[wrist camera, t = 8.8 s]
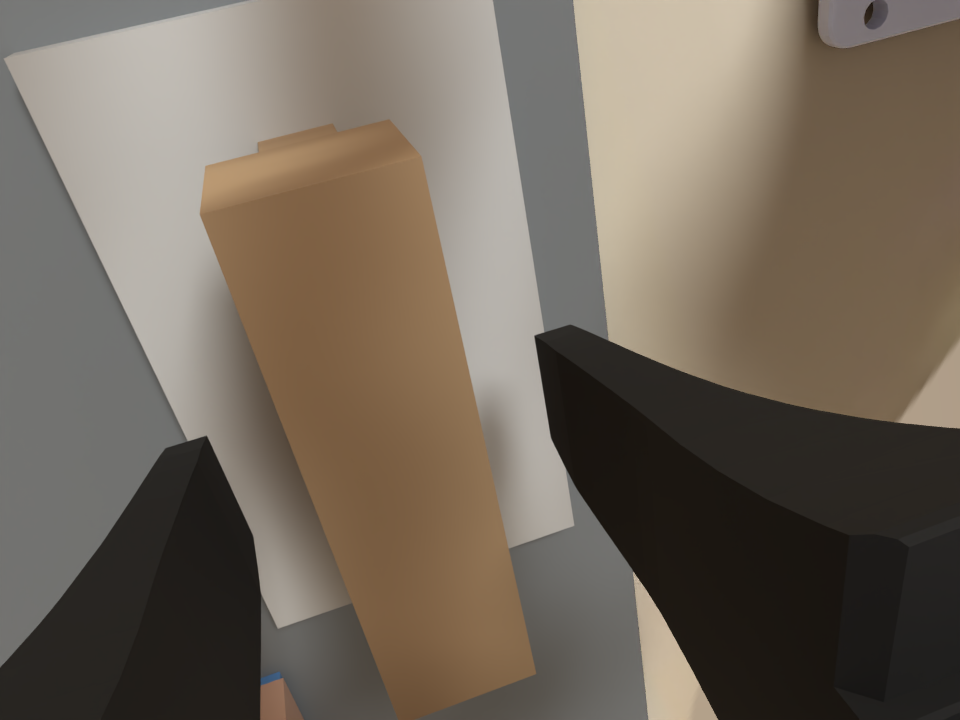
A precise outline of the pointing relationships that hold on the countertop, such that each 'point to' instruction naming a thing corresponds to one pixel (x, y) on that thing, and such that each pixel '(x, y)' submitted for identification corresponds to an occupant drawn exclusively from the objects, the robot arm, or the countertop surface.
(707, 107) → the countertop surface
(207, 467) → the robot arm
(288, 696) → the tile
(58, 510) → the mat
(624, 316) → the countertop surface
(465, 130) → the trowel
